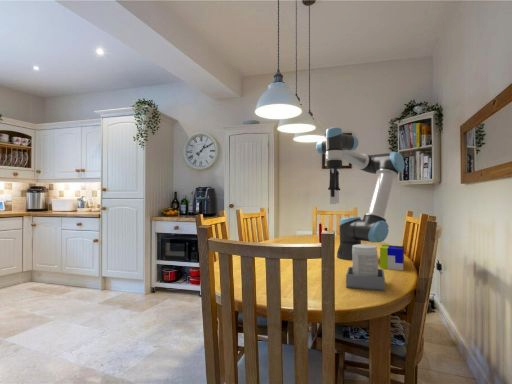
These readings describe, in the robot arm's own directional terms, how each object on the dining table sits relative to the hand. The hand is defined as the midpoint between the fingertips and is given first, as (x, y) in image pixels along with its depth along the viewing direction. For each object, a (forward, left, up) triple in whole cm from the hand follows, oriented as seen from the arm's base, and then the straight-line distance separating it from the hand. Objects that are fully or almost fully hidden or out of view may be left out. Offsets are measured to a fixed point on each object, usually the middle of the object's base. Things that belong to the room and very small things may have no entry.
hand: (334, 203), depth 146 cm
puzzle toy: (-14, +26, -32) cm, 44 cm away
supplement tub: (+22, +14, -31) cm, 41 cm away
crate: (+22, +14, -32) cm, 41 cm away
